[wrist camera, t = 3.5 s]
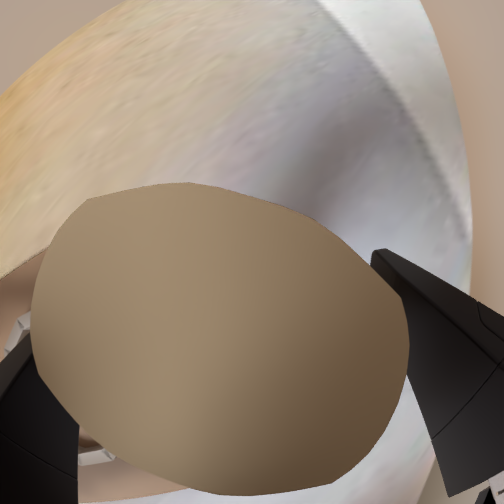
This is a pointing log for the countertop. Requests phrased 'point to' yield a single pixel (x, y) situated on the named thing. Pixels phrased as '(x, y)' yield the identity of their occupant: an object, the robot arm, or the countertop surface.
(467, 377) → the robot arm
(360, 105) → the countertop surface
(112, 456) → the socket board
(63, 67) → the countertop surface
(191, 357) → the handle
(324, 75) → the countertop surface
